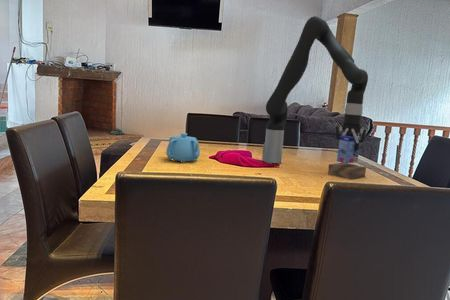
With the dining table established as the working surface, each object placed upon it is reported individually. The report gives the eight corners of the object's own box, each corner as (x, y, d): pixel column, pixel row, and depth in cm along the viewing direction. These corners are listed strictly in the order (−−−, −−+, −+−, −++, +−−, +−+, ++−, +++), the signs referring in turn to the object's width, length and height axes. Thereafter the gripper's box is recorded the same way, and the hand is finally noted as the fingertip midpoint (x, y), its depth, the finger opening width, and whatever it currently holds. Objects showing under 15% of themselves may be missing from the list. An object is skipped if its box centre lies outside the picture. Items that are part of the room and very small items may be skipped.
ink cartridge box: (346, 163, 174) (350, 131, 172) (336, 161, 178) (339, 130, 176) (358, 162, 180) (362, 131, 178) (348, 160, 184) (351, 130, 182)
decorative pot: (198, 164, 184) (199, 136, 182) (164, 162, 183) (165, 134, 181) (199, 158, 200) (201, 132, 198) (168, 156, 199) (169, 130, 197)
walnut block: (327, 175, 180) (328, 164, 179) (341, 172, 188) (342, 162, 187) (351, 180, 171) (352, 169, 171) (364, 177, 180) (366, 167, 179)
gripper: (334, 112, 177) (330, 148, 179) (366, 115, 168) (362, 153, 171) (340, 112, 183) (336, 147, 185) (371, 115, 174) (367, 151, 177)
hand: (348, 150), depth 178 cm, fingers closed on ink cartridge box, 6 cm apart
